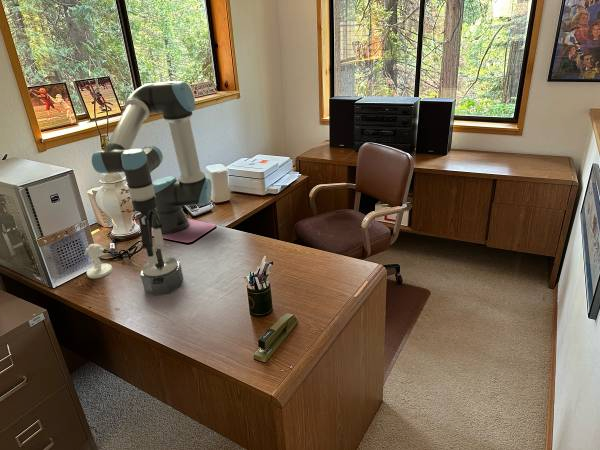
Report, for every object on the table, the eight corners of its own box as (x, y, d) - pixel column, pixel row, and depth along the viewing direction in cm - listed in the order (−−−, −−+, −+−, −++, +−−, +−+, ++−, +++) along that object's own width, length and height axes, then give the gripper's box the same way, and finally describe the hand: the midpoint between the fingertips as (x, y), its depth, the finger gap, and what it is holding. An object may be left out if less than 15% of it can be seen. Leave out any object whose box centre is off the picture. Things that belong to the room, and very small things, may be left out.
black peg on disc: (146, 261, 157) (142, 244, 154) (179, 257, 158) (175, 240, 155) (139, 279, 146) (134, 261, 143) (175, 274, 147) (171, 256, 144)
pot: (150, 275, 161) (146, 259, 158) (184, 271, 162) (181, 255, 159) (141, 299, 147) (137, 282, 144) (180, 294, 148) (176, 277, 145)
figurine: (82, 275, 165) (72, 248, 160) (101, 264, 172) (93, 237, 167) (98, 280, 161) (89, 252, 156) (117, 268, 168) (109, 241, 163)
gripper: (139, 185, 151) (152, 239, 160) (122, 213, 129) (138, 273, 138) (160, 183, 152) (172, 236, 161) (147, 210, 129) (162, 270, 138)
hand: (157, 254), depth 149 cm, fingers open, 13 cm apart
